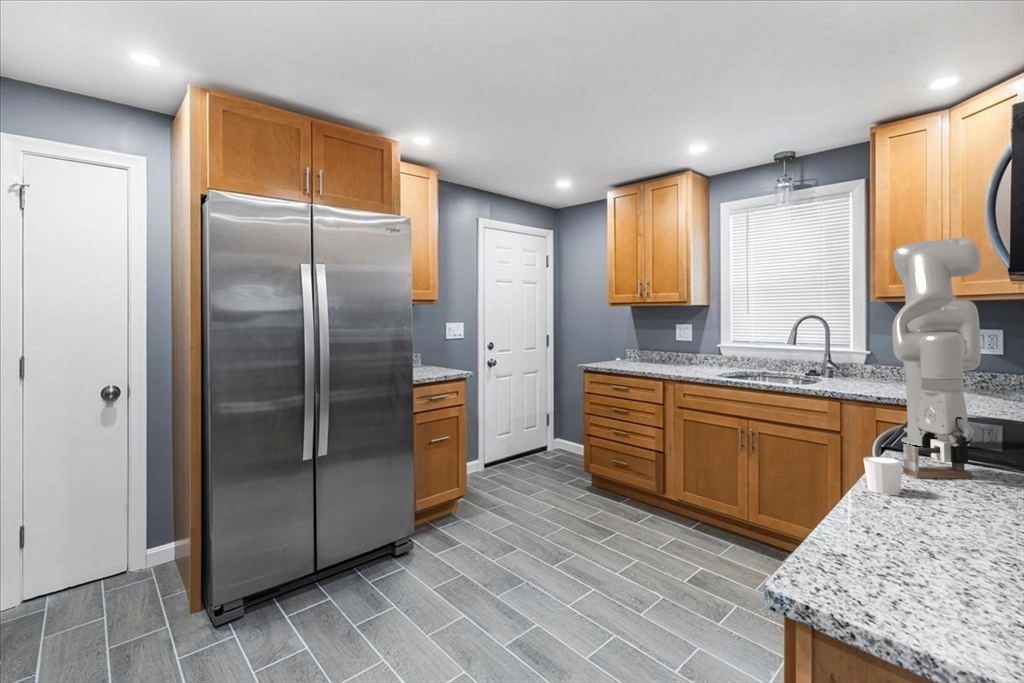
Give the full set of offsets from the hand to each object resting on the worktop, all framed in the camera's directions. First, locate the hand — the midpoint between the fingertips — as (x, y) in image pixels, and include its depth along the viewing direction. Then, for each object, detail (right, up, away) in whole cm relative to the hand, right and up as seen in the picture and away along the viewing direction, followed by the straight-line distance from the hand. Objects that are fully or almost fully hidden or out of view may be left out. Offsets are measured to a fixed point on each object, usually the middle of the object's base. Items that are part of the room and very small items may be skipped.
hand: (944, 457), depth 117 cm
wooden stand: (-2, -4, 0) cm, 5 cm away
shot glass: (-21, -5, -9) cm, 24 cm away
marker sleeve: (0, 0, 0) cm, 0 cm away
